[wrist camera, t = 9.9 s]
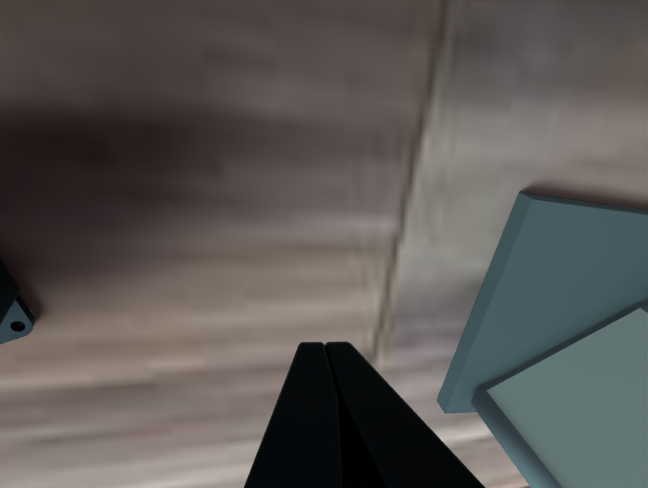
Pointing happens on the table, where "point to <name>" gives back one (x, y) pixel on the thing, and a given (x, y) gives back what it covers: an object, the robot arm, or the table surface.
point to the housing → (549, 289)
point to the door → (578, 411)
